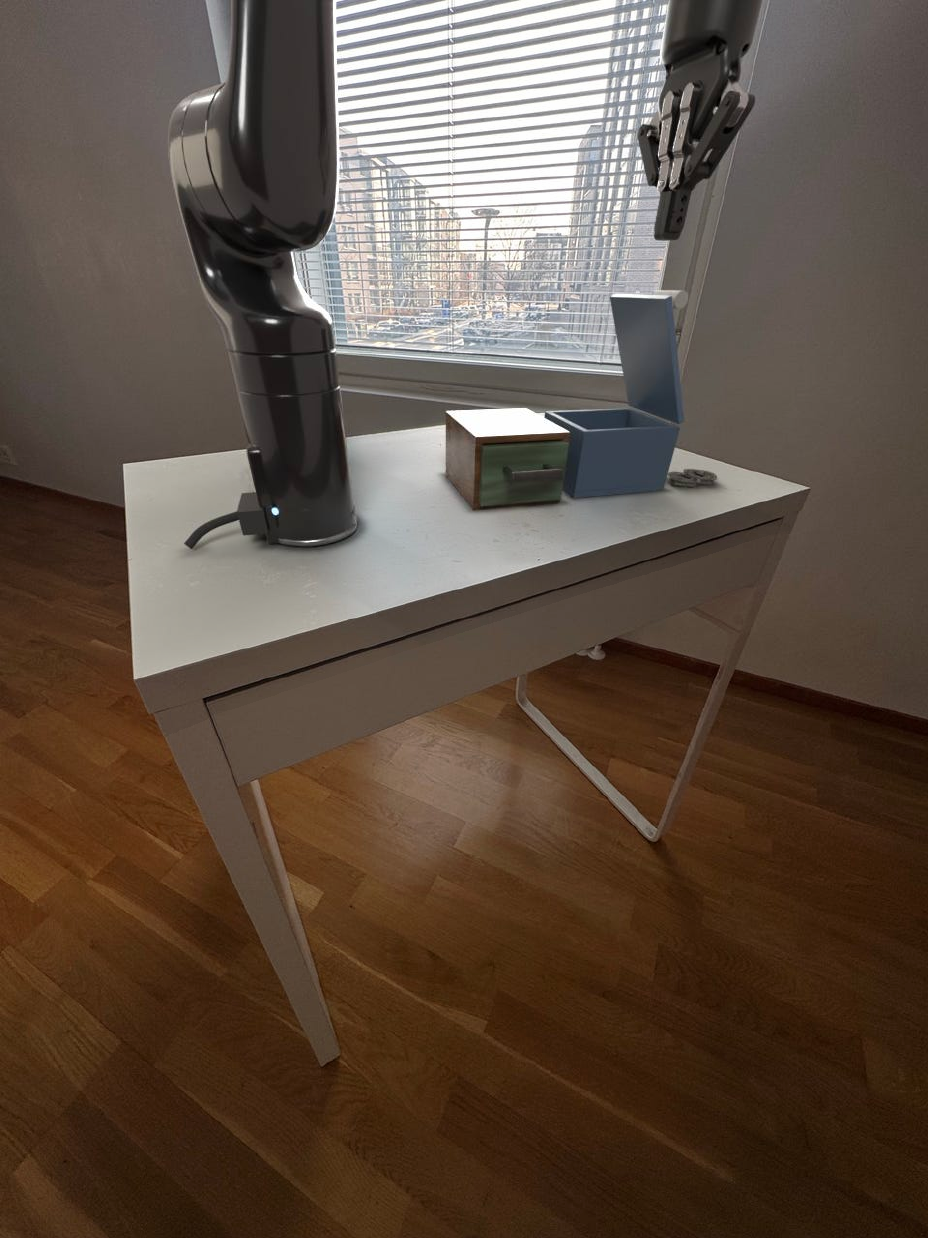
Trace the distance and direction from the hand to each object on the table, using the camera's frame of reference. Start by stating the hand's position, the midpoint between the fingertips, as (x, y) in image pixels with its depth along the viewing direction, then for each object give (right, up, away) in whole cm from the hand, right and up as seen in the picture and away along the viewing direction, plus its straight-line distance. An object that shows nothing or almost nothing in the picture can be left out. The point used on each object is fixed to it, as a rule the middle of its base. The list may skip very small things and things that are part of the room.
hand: (665, 239), depth 49 cm
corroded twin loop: (+11, -20, +18) cm, 29 cm away
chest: (-2, -20, +18) cm, 27 cm away
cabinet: (-16, -22, +15) cm, 31 cm away
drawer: (-15, -23, +11) cm, 30 cm away
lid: (+2, -7, +11) cm, 13 cm away
